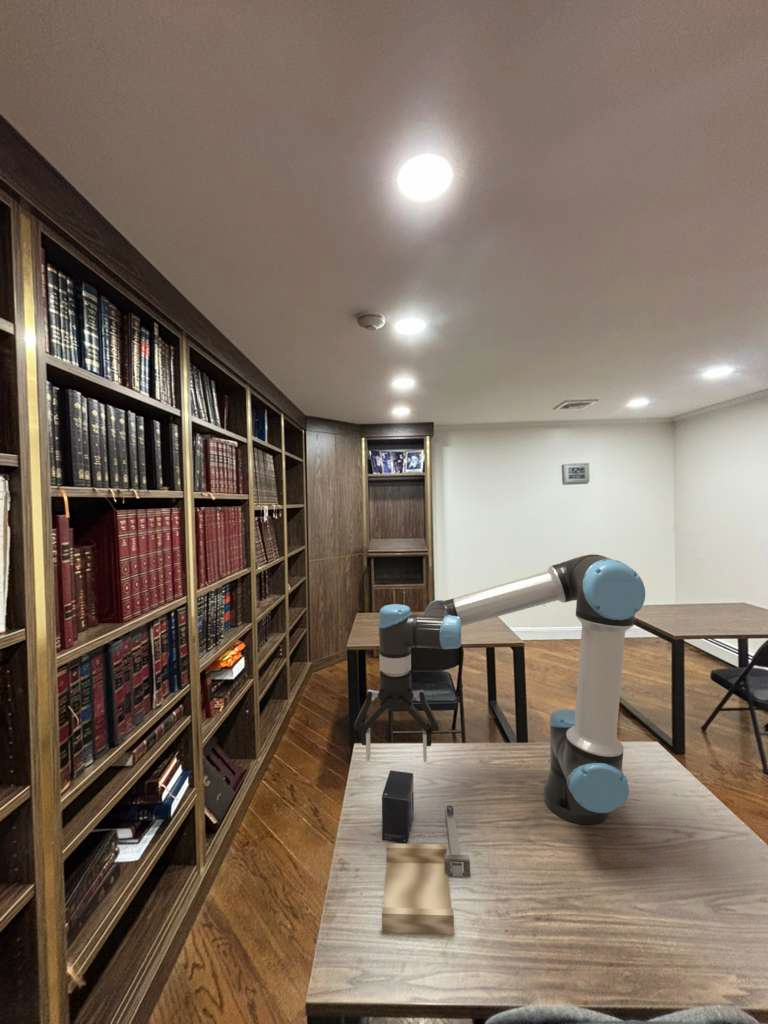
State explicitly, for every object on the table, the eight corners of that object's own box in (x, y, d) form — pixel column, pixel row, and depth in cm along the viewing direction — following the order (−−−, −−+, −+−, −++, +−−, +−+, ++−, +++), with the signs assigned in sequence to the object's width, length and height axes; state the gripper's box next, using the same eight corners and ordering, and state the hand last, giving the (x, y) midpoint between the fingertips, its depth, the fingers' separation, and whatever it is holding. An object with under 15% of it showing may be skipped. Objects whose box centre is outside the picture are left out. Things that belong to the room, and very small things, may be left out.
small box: (409, 845, 100) (408, 800, 100) (381, 841, 101) (380, 796, 101) (415, 813, 110) (414, 771, 110) (389, 809, 112) (388, 769, 111)
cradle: (467, 860, 95) (467, 844, 95) (479, 935, 79) (479, 915, 79) (386, 859, 96) (386, 842, 96) (382, 932, 80) (381, 912, 80)
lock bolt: (453, 815, 109) (453, 802, 109) (462, 877, 91) (462, 861, 91) (445, 815, 109) (445, 801, 109) (452, 876, 91) (452, 860, 91)
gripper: (446, 665, 108) (447, 750, 109) (345, 664, 110) (347, 748, 110) (449, 677, 101) (450, 768, 101) (341, 676, 102) (342, 766, 102)
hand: (396, 758), depth 106 cm, fingers open, 13 cm apart
